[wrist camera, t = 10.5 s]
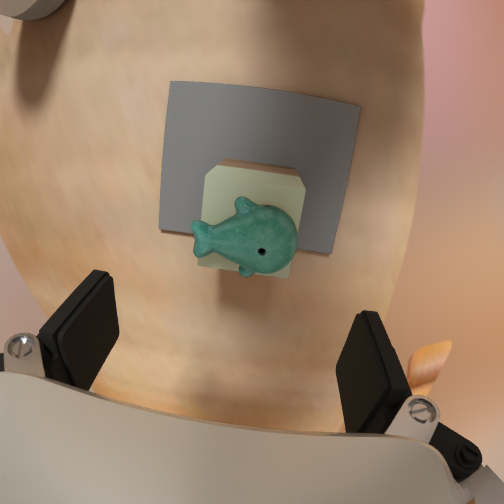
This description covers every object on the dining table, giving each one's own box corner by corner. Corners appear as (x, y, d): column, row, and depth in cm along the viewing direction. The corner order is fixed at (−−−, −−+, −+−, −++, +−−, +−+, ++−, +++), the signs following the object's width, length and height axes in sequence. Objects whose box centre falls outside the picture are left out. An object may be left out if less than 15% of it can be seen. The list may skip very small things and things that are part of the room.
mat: (172, 81, 28) (170, 80, 28) (359, 106, 28) (361, 106, 28) (160, 227, 35) (158, 228, 34) (330, 251, 35) (331, 254, 34)
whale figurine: (294, 268, 24) (298, 294, 20) (198, 267, 24) (186, 292, 21) (297, 192, 22) (302, 206, 18) (192, 192, 22) (177, 207, 19)
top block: (216, 165, 26) (205, 175, 21) (299, 176, 26) (305, 189, 21) (209, 241, 29) (197, 265, 24) (285, 252, 29) (288, 279, 24)
